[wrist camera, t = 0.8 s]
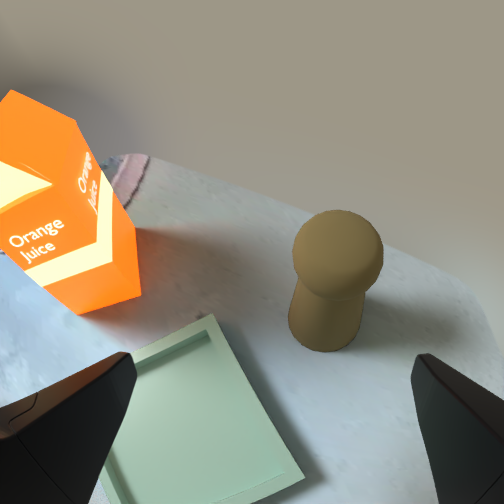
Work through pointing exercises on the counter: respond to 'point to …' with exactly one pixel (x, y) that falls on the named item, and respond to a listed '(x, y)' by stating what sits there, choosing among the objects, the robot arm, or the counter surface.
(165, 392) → the tray
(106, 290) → the orange juice
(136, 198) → the counter surface
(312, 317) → the cork
